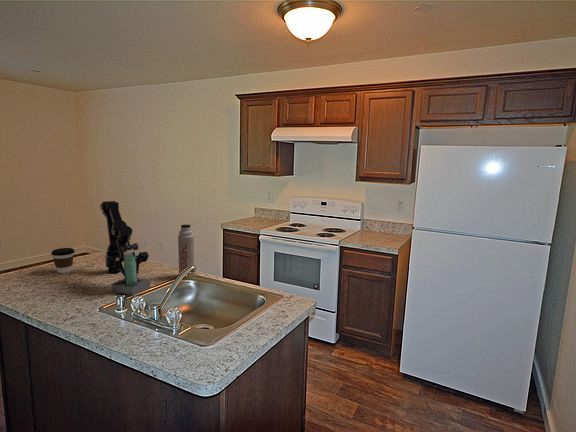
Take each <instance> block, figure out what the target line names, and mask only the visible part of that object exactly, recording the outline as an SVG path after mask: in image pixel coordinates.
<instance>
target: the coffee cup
mask: <svg viewBox="0 0 576 432" xmlns="http://www.w3.org/2000/svg"><path fill="white" fill-rule="evenodd" d="M75 252H76V251H75V250H74V248H72V247H61V248H55V249H53V250H52V251H51V253H50V254H51V256H52V258H53V262H54V266H55V268H56V272H57V273H59V274H67V273H70V272H71V271H72V269H73V263H74V254H75Z"/></svg>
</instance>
